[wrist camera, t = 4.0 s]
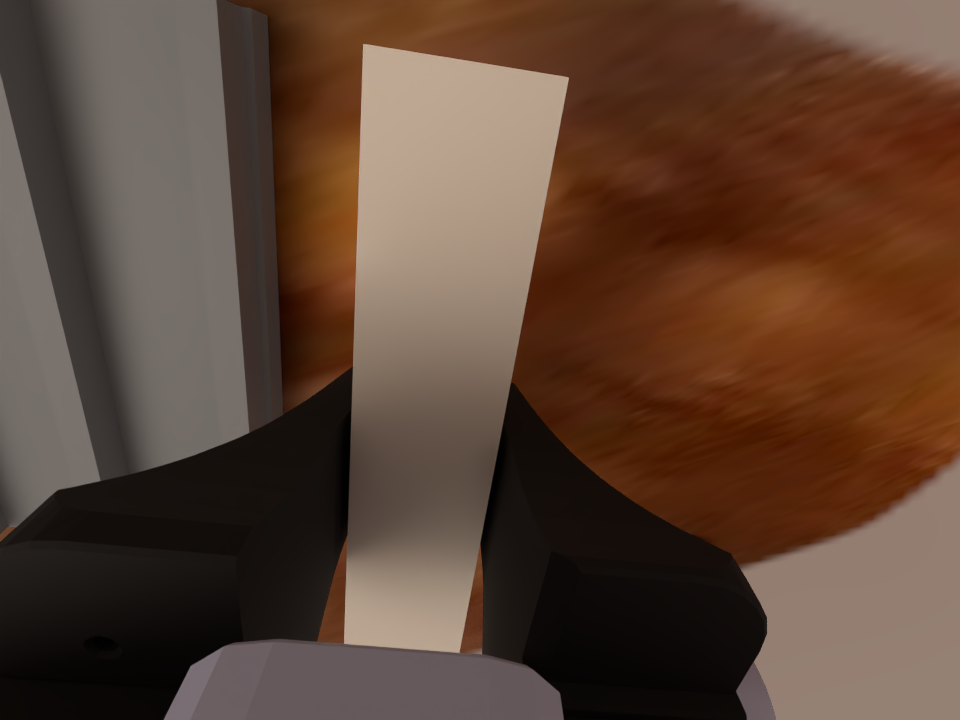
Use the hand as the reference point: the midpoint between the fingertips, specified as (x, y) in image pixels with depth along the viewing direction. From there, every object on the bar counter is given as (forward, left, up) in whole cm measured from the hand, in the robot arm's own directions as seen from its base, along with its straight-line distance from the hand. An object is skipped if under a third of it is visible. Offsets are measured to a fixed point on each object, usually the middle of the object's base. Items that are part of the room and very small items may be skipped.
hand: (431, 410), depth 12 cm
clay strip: (0, 0, -2) cm, 2 cm away
